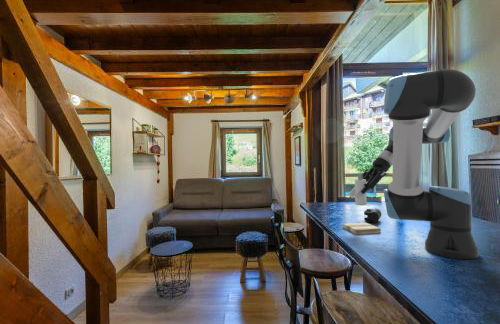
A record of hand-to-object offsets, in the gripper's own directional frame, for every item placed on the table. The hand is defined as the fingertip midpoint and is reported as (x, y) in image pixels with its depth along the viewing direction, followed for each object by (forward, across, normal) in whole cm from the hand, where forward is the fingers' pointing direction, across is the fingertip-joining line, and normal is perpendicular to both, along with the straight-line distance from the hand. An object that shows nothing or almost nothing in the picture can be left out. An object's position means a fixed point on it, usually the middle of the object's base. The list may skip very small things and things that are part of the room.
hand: (353, 196), depth 119 cm
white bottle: (0, 0, -5) cm, 5 cm away
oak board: (+9, 0, -14) cm, 17 cm away
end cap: (-1, +13, -25) cm, 28 cm away
